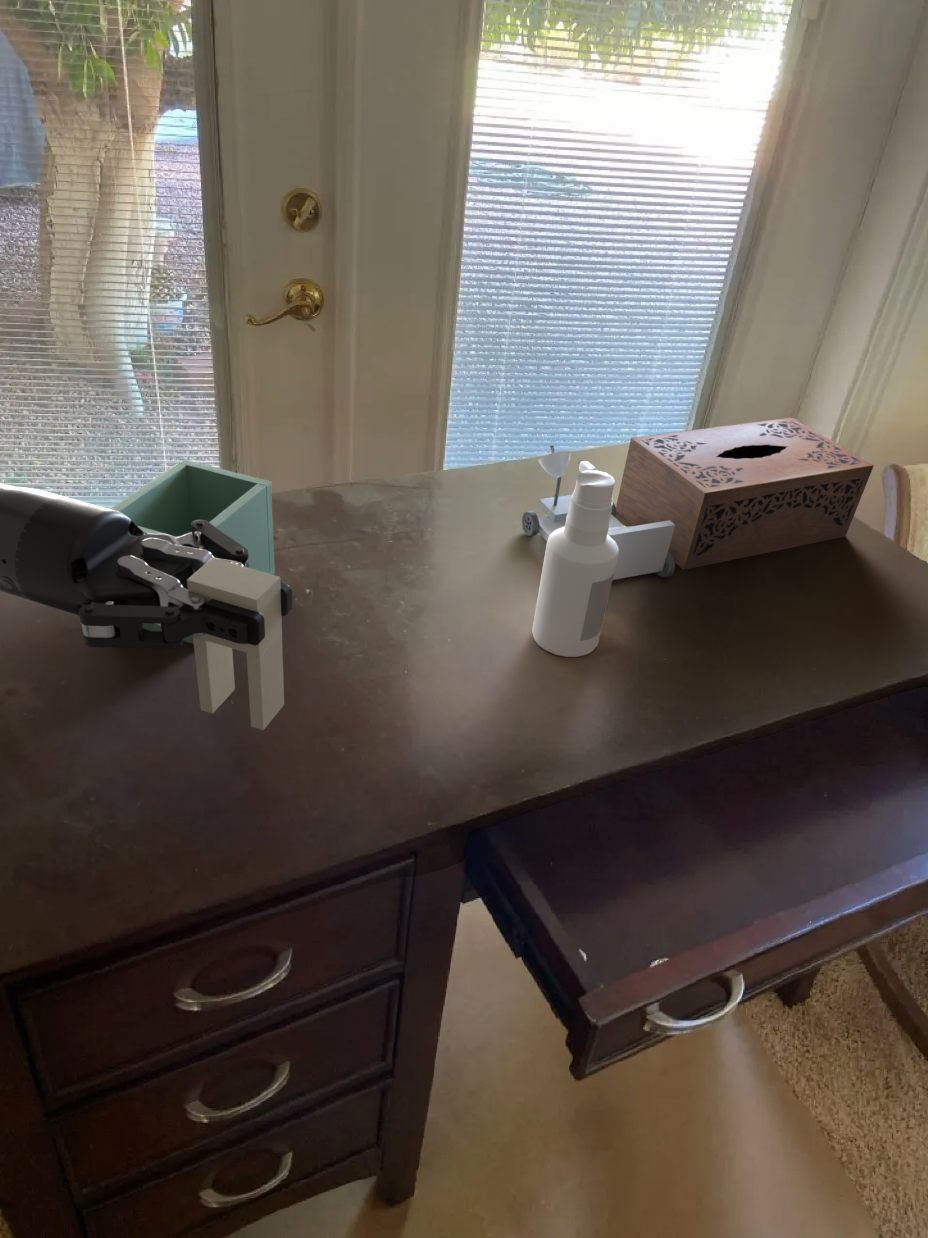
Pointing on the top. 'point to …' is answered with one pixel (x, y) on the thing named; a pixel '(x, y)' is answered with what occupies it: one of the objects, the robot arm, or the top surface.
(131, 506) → the bin
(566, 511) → the toy car
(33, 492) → the robot arm
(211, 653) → the clip
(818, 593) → the top surface
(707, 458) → the tissue box cover
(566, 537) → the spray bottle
